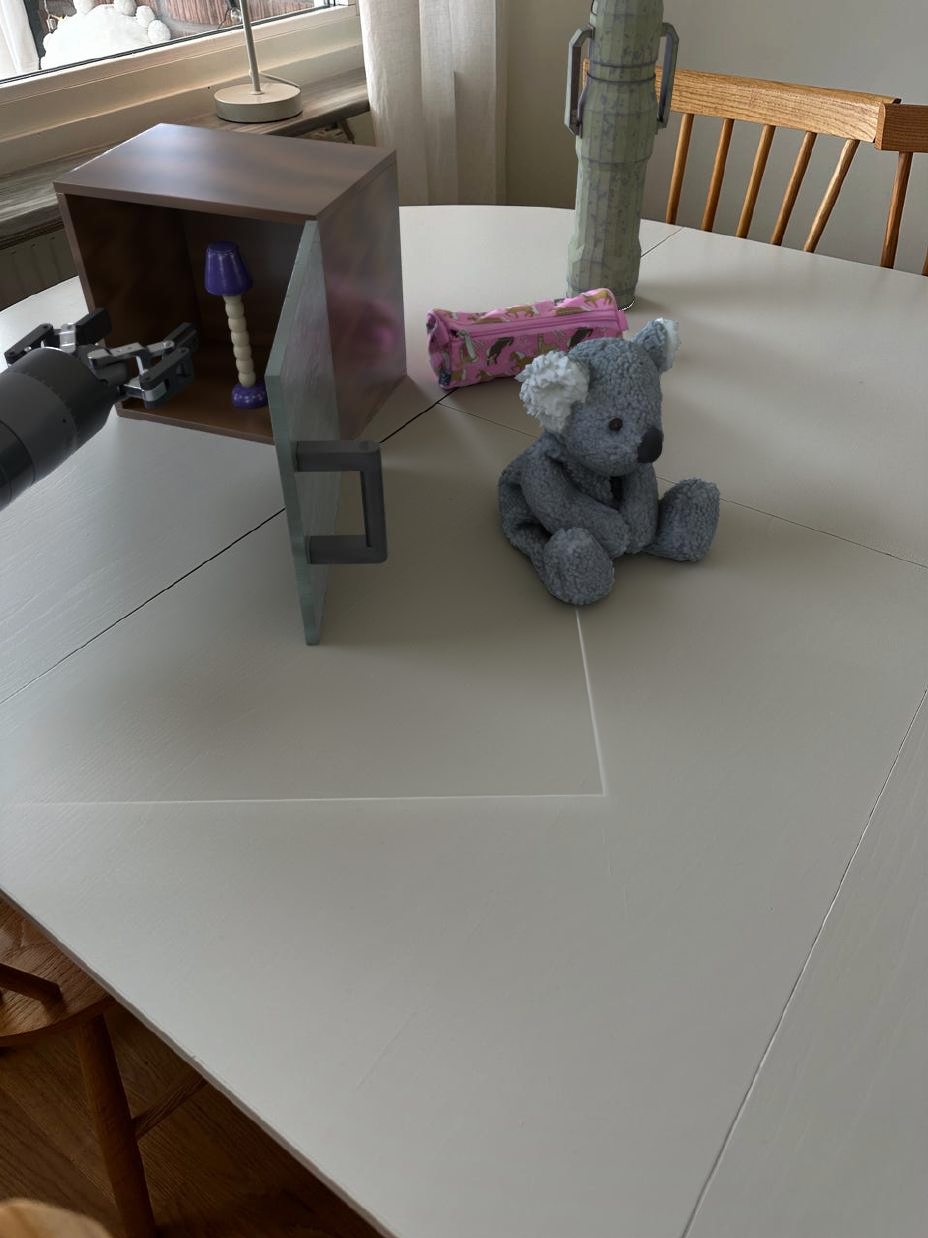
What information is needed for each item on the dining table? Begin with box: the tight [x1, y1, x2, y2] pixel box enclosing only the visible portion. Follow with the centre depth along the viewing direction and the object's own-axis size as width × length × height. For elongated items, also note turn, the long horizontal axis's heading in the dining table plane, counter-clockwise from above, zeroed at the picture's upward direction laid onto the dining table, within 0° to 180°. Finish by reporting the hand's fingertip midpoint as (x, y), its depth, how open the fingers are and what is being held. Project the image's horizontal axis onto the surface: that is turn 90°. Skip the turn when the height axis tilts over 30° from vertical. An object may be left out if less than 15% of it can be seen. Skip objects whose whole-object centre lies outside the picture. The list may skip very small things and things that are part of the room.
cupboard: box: [51, 122, 408, 447], centre depth 99 cm, size 18×26×24 cm
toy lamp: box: [205, 240, 269, 409], centre depth 98 cm, size 5×5×17 cm
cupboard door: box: [264, 221, 389, 646], centre depth 79 cm, size 7×26×24 cm, turn 1°
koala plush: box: [496, 315, 721, 606], centre depth 82 cm, size 17×18×20 cm
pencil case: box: [425, 288, 630, 390], centre depth 107 cm, size 21×9×9 cm, turn 105°
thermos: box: [563, 0, 680, 311], centre depth 112 cm, size 9×12×35 cm
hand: (149, 325), depth 84 cm, fingers open, 8 cm apart
